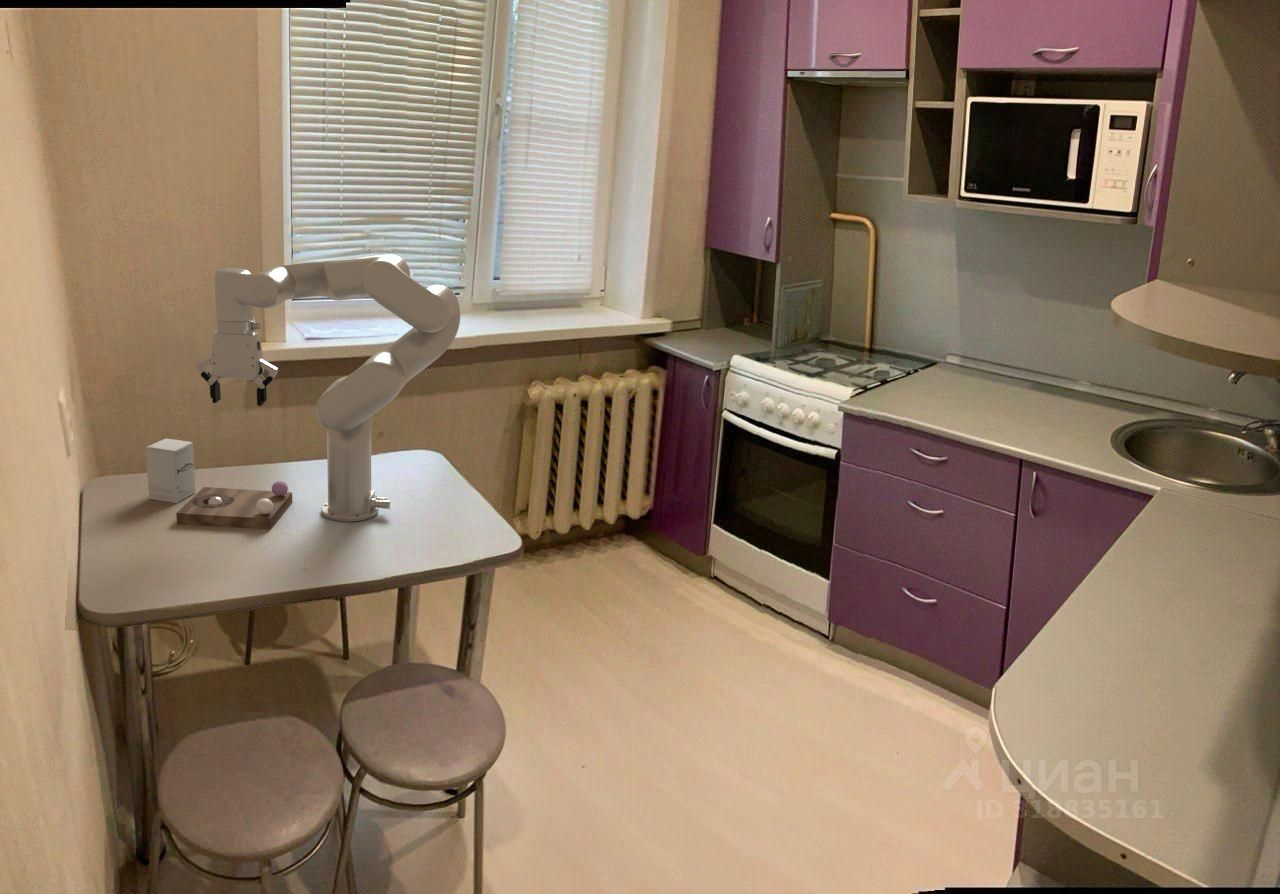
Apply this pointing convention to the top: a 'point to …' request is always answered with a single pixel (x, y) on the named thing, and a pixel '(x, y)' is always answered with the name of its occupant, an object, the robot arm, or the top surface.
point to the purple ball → (279, 488)
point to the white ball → (264, 506)
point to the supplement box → (170, 470)
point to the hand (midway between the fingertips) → (238, 402)
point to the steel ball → (214, 500)
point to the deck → (233, 508)
